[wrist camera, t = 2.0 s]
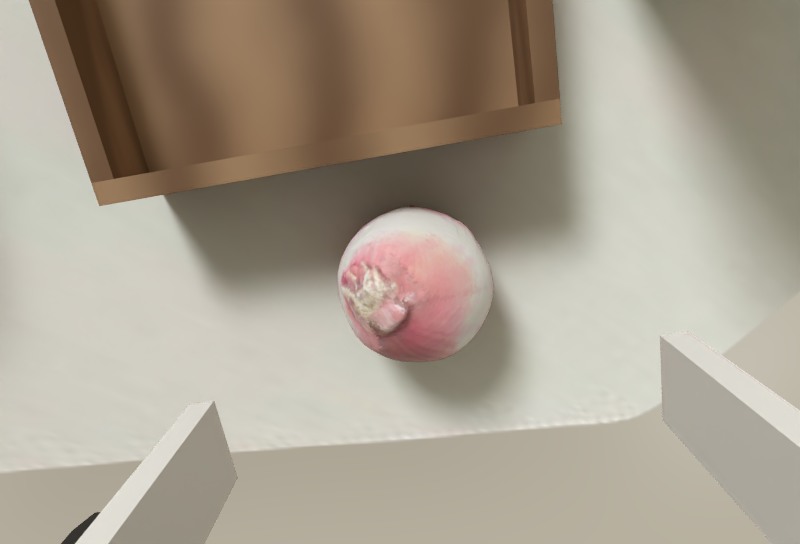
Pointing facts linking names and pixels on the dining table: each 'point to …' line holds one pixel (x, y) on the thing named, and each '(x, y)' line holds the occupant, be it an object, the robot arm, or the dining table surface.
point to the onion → (415, 285)
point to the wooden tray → (289, 83)
